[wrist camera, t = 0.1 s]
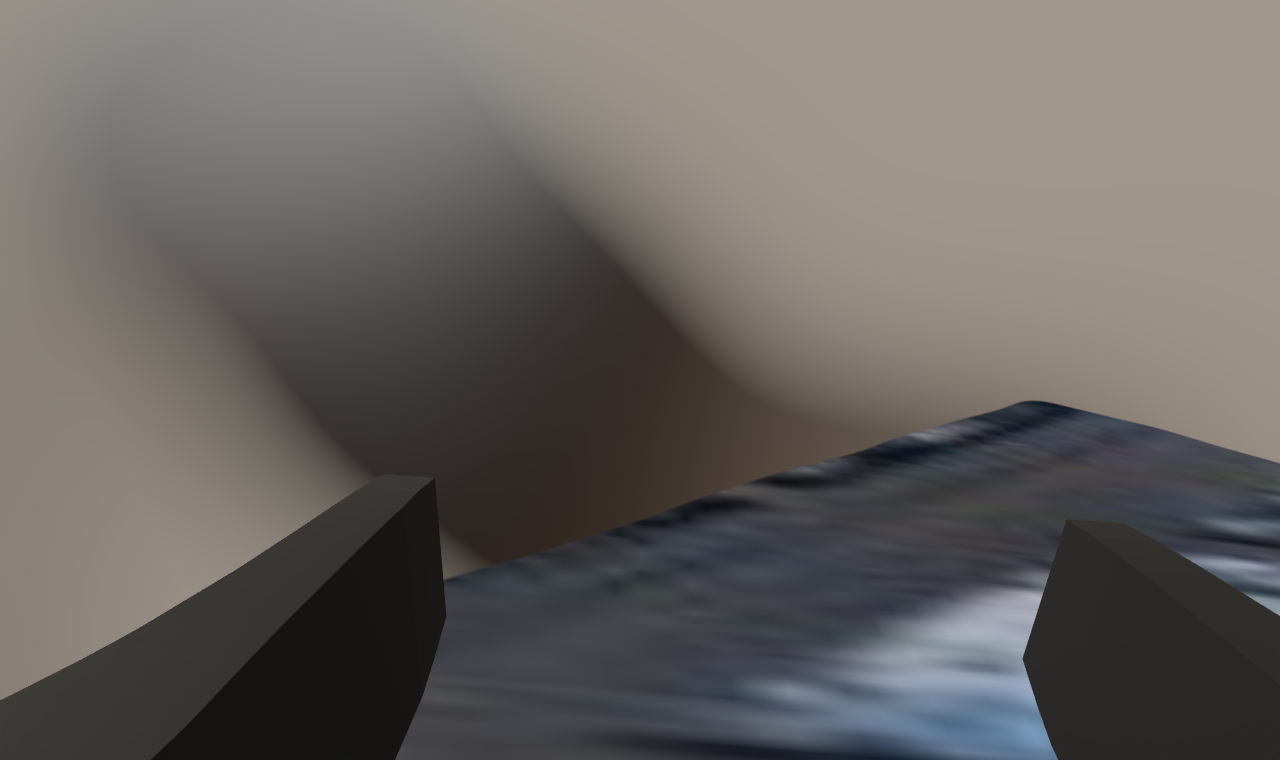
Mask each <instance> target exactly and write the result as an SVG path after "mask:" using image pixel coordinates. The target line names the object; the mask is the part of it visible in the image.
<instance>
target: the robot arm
mask: <svg viewBox="0 0 1280 760" xmlns="http://www.w3.org/2000/svg"><path fill="white" fill-rule="evenodd" d="M439 535H440V534H439V522H438V511H437V499H436V487H435V478H432V477H417V476H401V475H387V474H383V475H381V476H380V477H378V478H376V479H374V480H373V481H371V482H369V483H368V484H366V485H364V486H363V487H361V488H360V489H358V490H357V491H355V492H353V493H352V494H350V495H349V496H348V497H346V498H344V499H343V500H341V501H340V502H338V503H337V504H335V505H334V506H332V507H331V508H329V509H328V510H326V511H325V512H323V513H322V514H320V515H319V516H317V517H316V518H314V519H313V520H311V521H310V522H308V523H307V524H305V525H304V526H302V527H301V528H299V529H298V530H296V531H295V532H293V533H292V534H290V535H289V536H287V537H286V538H284V539H283V540H281V541H279V542H278V543H276V544H275V545H273V546H272V547H270V548H269V549H267V550H266V551H264V552H263V553H261V554H260V555H258V556H257V557H255V558H253V559H252V560H251V561H249V562H247V563H246V564H244V565H243V566H241V567H240V568H238V569H236V570H235V571H233V572H232V573H230V574H228V575H227V576H225V577H223V578H222V579H220V580H218V581H217V582H215V583H214V584H212V585H210V586H208V587H207V588H205V589H203V590H202V591H200V592H198V593H197V594H195V595H193V596H192V597H190V598H188V599H187V600H185V601H183V602H182V603H180V604H178V605H177V606H175V607H173V608H172V609H170V610H169V611H167V612H165V613H164V614H162V615H160V616H158V617H157V618H155V619H154V620H152V621H150V622H148V623H147V624H145V625H143V626H142V627H140V628H138V629H137V630H135V631H133V632H131V633H129V634H127V635H126V636H124V637H122V638H120V639H119V640H117V641H115V642H113V643H112V644H109V645H108V646H106V647H104V648H102V649H100V650H98V651H96V652H95V653H93V654H91V655H89V656H87V657H85V658H83V659H82V660H80V661H78V662H76V663H74V664H72V665H70V666H68V667H66V668H64V669H62V670H60V671H58V672H56V673H54V674H52V675H50V676H48V677H46V678H44V679H42V680H40V681H38V682H36V683H34V684H32V685H30V686H28V687H26V688H24V689H22V690H21V691H19V692H17V693H14V694H13V695H10V696H8V697H6V698H4V699H2V700H0V760H395V759H396V756H397V754H398V752H399V749H400V747H401V745H402V742H403V740H404V738H405V736H406V733H407V731H408V729H409V726H410V724H411V722H412V719H413V717H414V715H415V712H416V710H417V708H418V705H419V703H420V701H421V698H422V696H423V693H424V690H425V686H426V683H427V680H428V677H429V674H430V670H431V667H432V664H433V661H434V657H435V654H436V650H437V647H438V643H439V640H440V636H441V633H442V629H443V626H444V623H445V619H446V606H445V594H444V582H443V570H442V559H441V546H440V536H439ZM1023 661H1024V665H1025V668H1026V671H1027V674H1028V677H1029V681H1030V684H1031V687H1032V690H1033V693H1034V696H1035V700H1036V703H1037V706H1038V709H1039V711H1040V714H1041V717H1042V720H1043V723H1044V726H1045V728H1046V731H1047V734H1048V737H1049V740H1050V743H1051V745H1052V747H1053V749H1054V752H1055V754H1056V756H1057V758H1058V760H1280V616H1279V615H1277V614H1275V613H1274V612H1272V611H1271V610H1269V609H1267V608H1266V607H1264V606H1263V605H1261V604H1259V603H1258V602H1256V601H1254V600H1253V599H1251V598H1250V597H1248V596H1246V595H1245V594H1243V593H1242V592H1240V591H1238V590H1237V589H1235V588H1234V587H1232V586H1230V585H1229V584H1227V583H1225V582H1224V581H1222V580H1221V579H1219V578H1217V577H1216V576H1214V575H1213V574H1211V573H1209V572H1208V571H1206V570H1204V569H1203V568H1201V567H1199V566H1198V565H1196V564H1195V563H1193V562H1191V561H1190V560H1188V559H1186V558H1185V557H1183V556H1181V555H1180V554H1178V553H1176V552H1175V551H1173V550H1171V549H1169V548H1168V547H1166V546H1164V545H1162V544H1161V543H1159V542H1157V541H1156V540H1154V539H1152V538H1150V537H1148V536H1146V535H1145V534H1143V533H1141V532H1139V531H1137V530H1135V529H1133V528H1131V527H1129V526H1127V525H1125V524H1123V523H1111V522H1096V521H1081V520H1066V523H1065V527H1064V530H1063V533H1062V536H1061V539H1060V542H1059V545H1058V549H1057V552H1056V555H1055V558H1054V561H1053V564H1052V568H1051V571H1050V574H1049V577H1048V580H1047V583H1046V586H1045V590H1044V593H1043V596H1042V599H1041V602H1040V605H1039V608H1038V612H1037V615H1036V618H1035V621H1034V624H1033V627H1032V631H1031V634H1030V637H1029V640H1028V643H1027V646H1026V649H1025V653H1024V656H1023Z"/></svg>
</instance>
